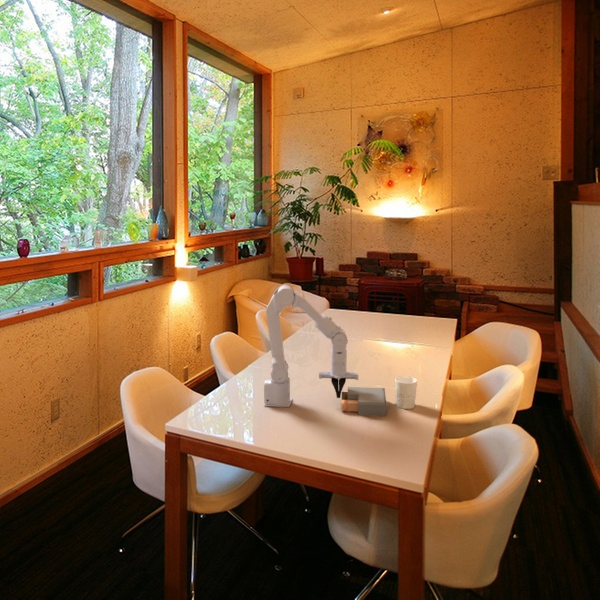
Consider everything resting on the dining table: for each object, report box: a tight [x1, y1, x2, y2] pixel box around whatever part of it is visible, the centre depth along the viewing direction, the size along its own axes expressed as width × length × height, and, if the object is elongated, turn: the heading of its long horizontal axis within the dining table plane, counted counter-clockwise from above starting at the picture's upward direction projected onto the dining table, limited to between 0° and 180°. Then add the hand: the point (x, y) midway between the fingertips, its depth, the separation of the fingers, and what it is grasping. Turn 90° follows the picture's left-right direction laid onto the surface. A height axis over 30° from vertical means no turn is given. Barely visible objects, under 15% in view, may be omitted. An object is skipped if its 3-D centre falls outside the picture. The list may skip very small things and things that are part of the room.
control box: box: [347, 386, 387, 417], centre depth 188 cm, size 14×14×5 cm
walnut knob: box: [341, 391, 348, 401], centre depth 193 cm, size 11×4×4 cm, turn 83°
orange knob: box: [340, 399, 358, 412], centre depth 185 cm, size 11×4×4 cm, turn 83°
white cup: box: [394, 375, 418, 410], centre depth 189 cm, size 8×8×10 cm
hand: (338, 396), depth 194 cm, fingers closed
